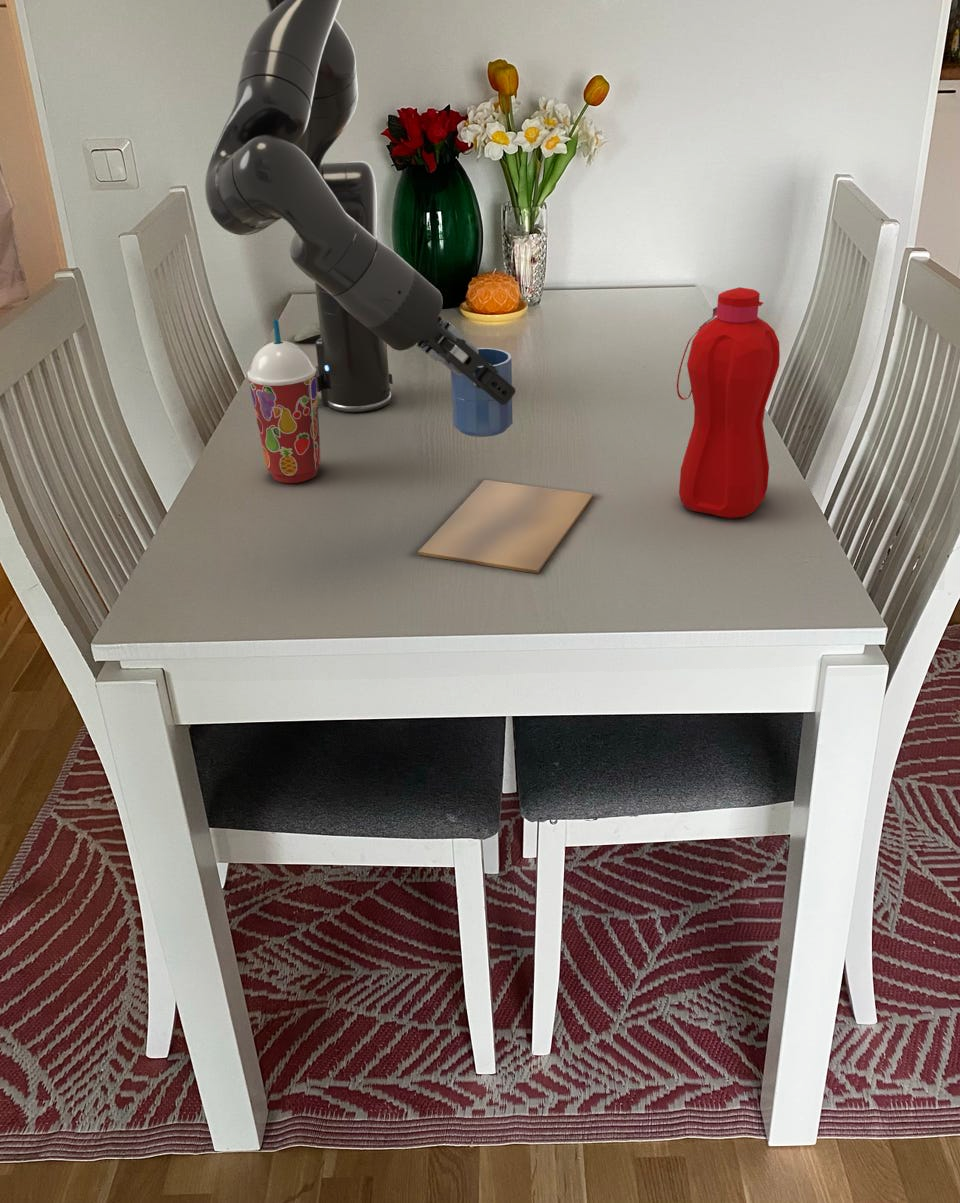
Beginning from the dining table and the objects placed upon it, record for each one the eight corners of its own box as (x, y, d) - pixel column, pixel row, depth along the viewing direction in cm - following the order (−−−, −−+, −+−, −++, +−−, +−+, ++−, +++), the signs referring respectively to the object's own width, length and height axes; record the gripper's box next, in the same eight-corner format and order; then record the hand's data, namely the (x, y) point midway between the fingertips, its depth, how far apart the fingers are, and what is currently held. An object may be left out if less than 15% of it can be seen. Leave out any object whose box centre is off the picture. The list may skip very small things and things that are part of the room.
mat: (418, 554, 126) (417, 551, 126) (484, 482, 142) (484, 479, 142) (538, 574, 122) (538, 570, 122) (593, 497, 138) (593, 494, 137)
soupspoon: (297, 336, 199) (291, 350, 194) (294, 317, 197) (288, 331, 192) (424, 328, 198) (421, 342, 192) (422, 309, 196) (419, 322, 190)
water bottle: (685, 478, 141) (698, 273, 129) (772, 495, 136) (795, 284, 124) (656, 508, 134) (666, 294, 122) (746, 527, 129) (767, 306, 117)
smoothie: (338, 465, 149) (322, 312, 138) (309, 491, 142) (290, 332, 132) (281, 458, 151) (261, 307, 141) (249, 484, 144) (226, 327, 134)
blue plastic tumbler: (444, 434, 125) (440, 364, 121) (467, 414, 131) (464, 345, 127) (499, 441, 123) (498, 369, 119) (520, 420, 128) (519, 350, 124)
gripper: (434, 280, 109) (546, 379, 119) (385, 249, 121) (491, 342, 131) (386, 343, 110) (501, 436, 120) (341, 306, 122) (449, 394, 132)
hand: (495, 387), depth 125 cm, fingers closed on blue plastic tumbler, 6 cm apart
